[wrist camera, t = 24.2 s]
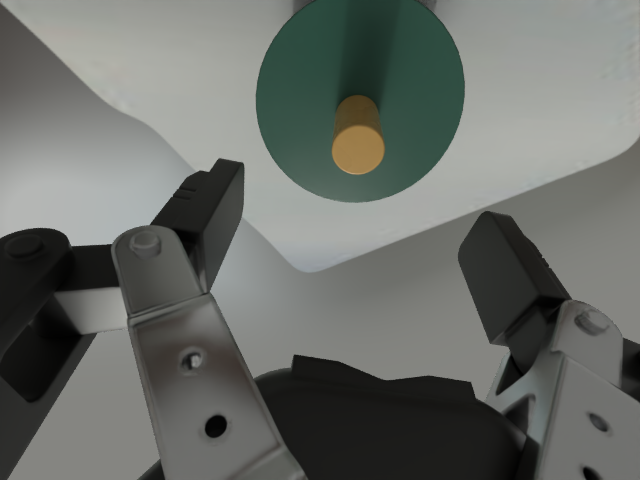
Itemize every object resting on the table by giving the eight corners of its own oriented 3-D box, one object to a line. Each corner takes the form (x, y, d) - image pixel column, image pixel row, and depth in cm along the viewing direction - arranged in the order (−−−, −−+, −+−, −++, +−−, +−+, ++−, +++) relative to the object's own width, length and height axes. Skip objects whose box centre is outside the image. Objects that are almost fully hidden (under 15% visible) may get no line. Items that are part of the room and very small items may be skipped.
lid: (219, 80, 18) (177, 114, 14) (404, -83, 13) (430, -112, 9) (329, 218, 24) (324, 272, 19) (486, 138, 19) (526, 186, 15)
